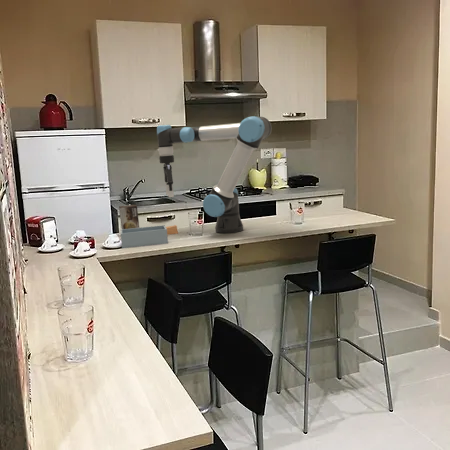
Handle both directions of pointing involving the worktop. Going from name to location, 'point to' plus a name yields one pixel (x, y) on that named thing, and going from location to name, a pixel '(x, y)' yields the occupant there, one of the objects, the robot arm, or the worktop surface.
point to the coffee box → (129, 216)
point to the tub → (144, 236)
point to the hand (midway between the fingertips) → (170, 195)
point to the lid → (172, 229)
